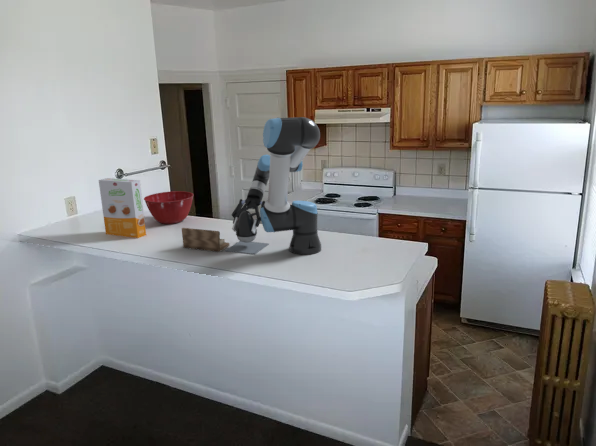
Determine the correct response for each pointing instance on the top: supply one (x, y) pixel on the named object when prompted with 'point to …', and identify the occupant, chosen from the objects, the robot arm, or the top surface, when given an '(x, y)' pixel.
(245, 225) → the black and white ovoid
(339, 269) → the top surface
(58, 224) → the top surface
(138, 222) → the cereal box
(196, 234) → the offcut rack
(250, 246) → the slate mat
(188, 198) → the mixing bowl
